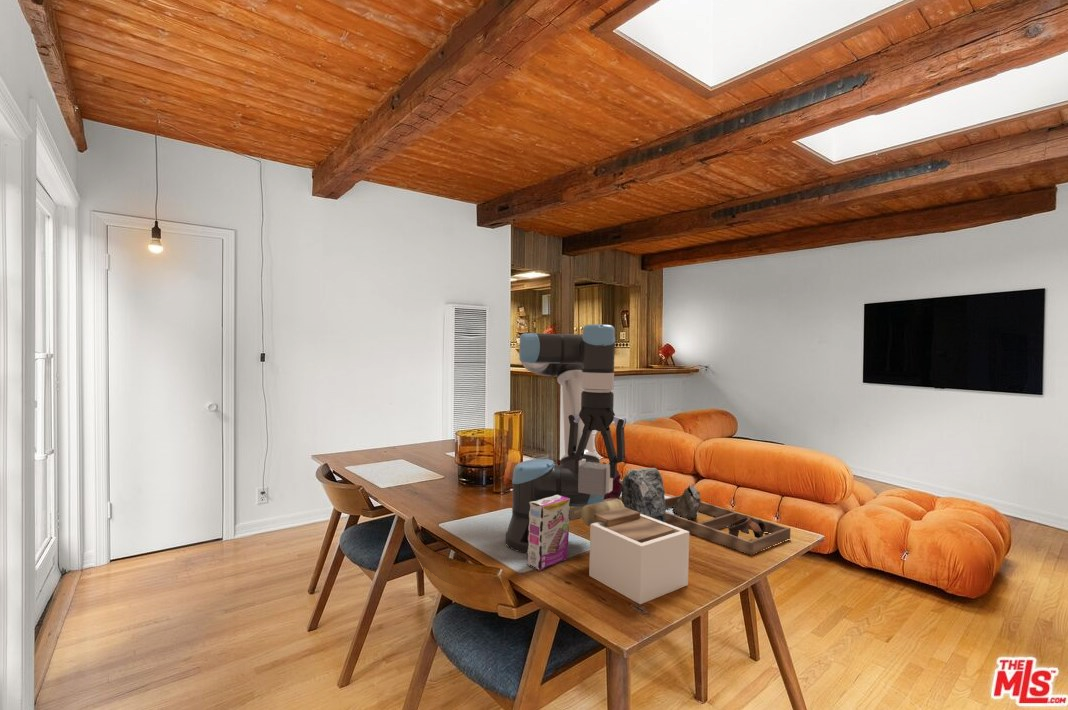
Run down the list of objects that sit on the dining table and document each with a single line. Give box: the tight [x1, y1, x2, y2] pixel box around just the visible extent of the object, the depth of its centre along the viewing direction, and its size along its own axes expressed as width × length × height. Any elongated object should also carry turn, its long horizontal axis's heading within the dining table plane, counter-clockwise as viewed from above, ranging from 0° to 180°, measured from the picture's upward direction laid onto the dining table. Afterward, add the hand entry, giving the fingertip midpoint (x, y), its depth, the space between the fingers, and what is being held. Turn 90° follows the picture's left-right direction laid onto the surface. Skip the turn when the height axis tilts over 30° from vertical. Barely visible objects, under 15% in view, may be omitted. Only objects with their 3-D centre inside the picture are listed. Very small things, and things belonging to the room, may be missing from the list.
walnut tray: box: [665, 494, 791, 556], centre depth 160 cm, size 40×21×4 cm, turn 36°
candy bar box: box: [526, 495, 570, 572], centre depth 131 cm, size 11×5×16 cm, turn 136°
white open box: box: [588, 514, 690, 605], centre depth 122 cm, size 17×17×13 cm
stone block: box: [621, 467, 666, 522], centre depth 152 cm, size 18×9×20 cm, turn 132°
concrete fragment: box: [672, 484, 702, 520], centre depth 170 cm, size 6×19×11 cm, turn 11°
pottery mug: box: [727, 517, 765, 539], centre depth 149 cm, size 12×10×8 cm
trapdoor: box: [581, 499, 674, 543], centre depth 126 cm, size 20×13×5 cm, turn 36°
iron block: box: [578, 462, 607, 496], centre depth 117 cm, size 6×6×6 cm
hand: (595, 489), depth 118 cm, fingers closed on iron block, 6 cm apart
